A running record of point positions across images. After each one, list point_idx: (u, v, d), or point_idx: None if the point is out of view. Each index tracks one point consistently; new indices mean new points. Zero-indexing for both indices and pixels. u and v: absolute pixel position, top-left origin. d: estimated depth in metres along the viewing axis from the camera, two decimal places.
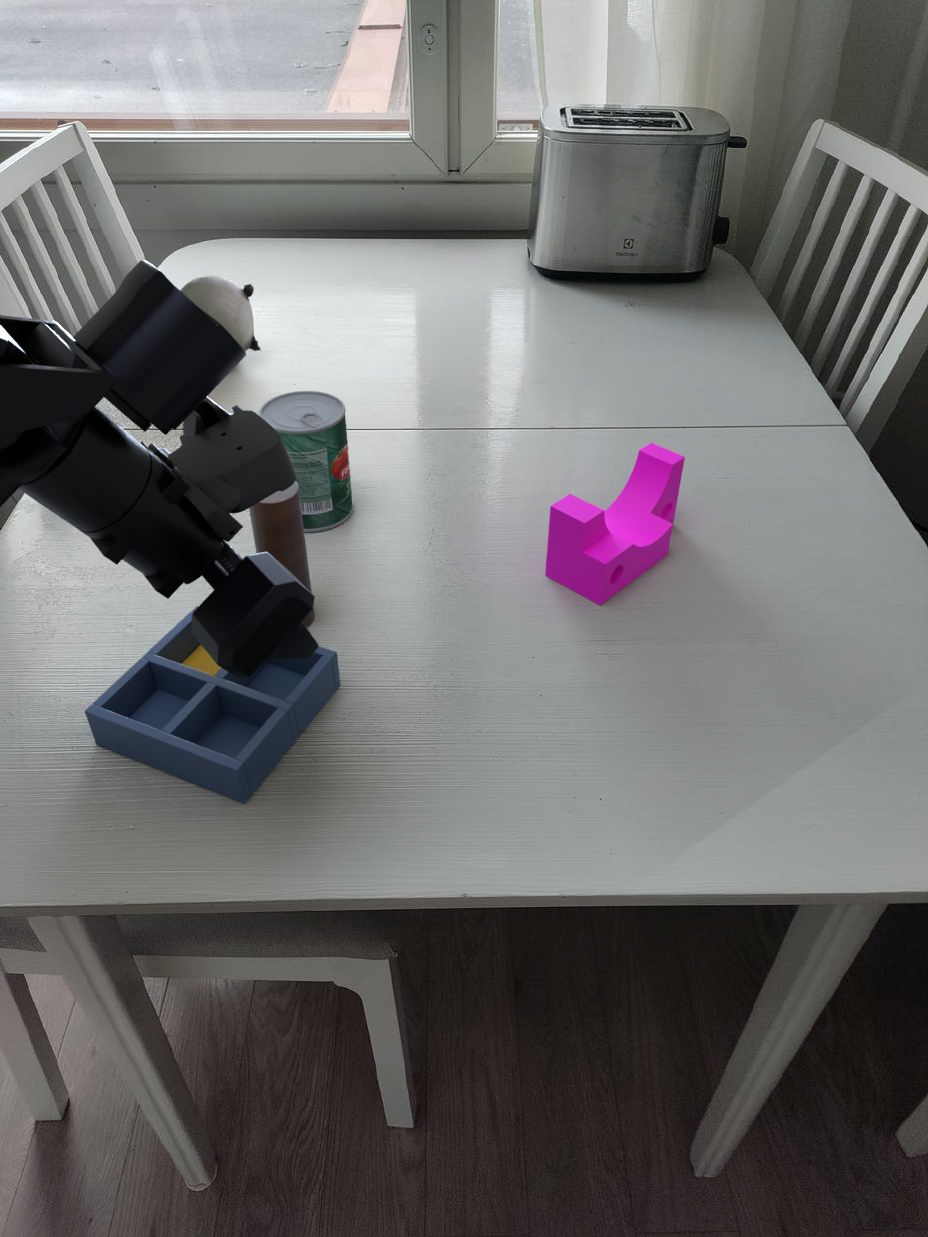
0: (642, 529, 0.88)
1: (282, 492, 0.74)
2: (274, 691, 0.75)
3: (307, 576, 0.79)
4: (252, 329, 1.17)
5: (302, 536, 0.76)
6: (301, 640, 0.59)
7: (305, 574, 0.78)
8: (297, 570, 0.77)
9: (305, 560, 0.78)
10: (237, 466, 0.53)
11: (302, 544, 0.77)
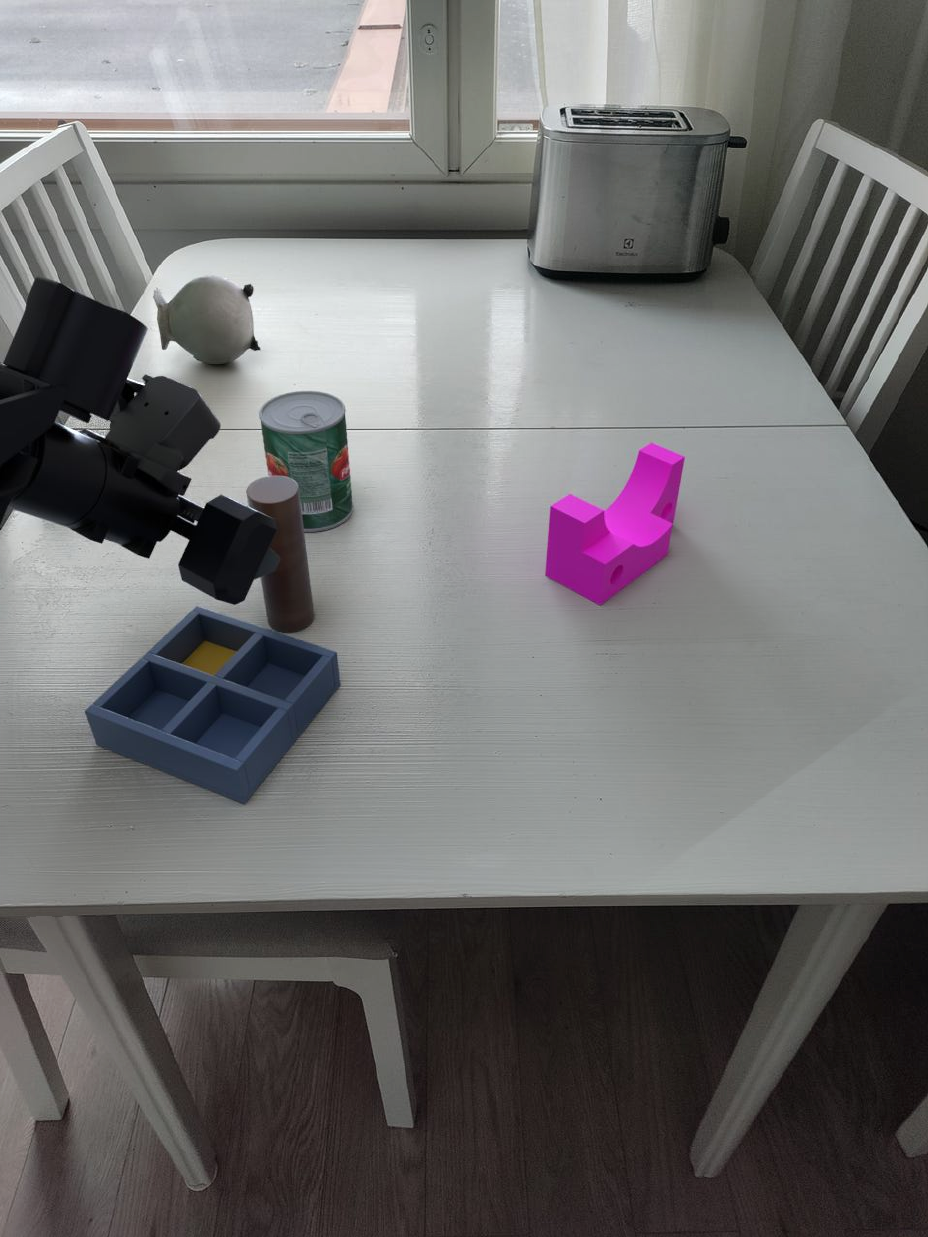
0: (642, 529, 0.88)
1: (282, 492, 0.74)
2: (274, 691, 0.75)
3: (307, 576, 0.79)
4: (252, 329, 1.17)
5: (302, 536, 0.76)
6: (267, 558, 0.68)
7: (305, 574, 0.78)
8: (297, 570, 0.77)
9: (305, 560, 0.78)
10: (172, 429, 0.61)
11: (302, 544, 0.77)
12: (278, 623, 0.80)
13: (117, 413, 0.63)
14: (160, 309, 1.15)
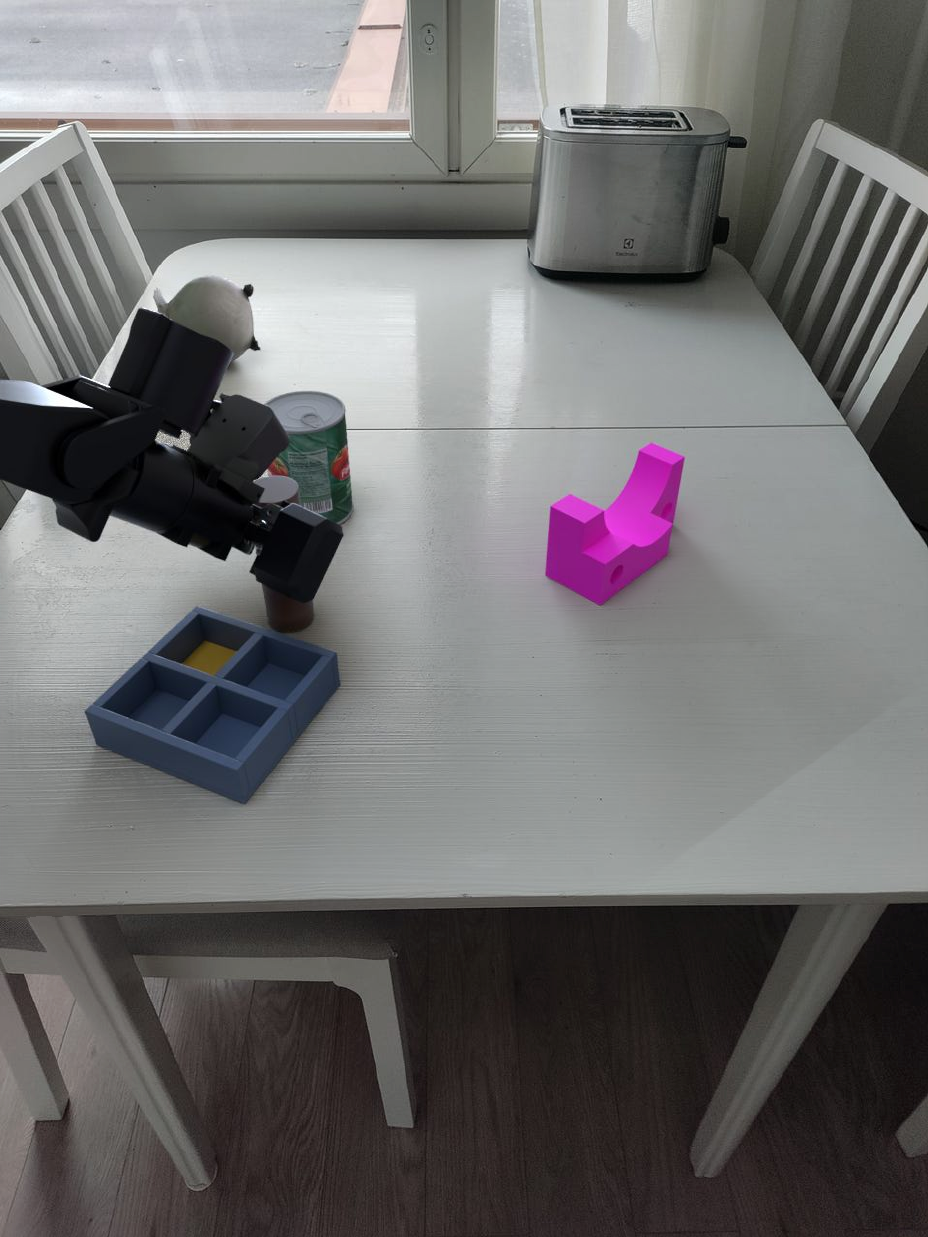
0: (642, 529, 0.88)
1: (282, 492, 0.74)
2: (274, 691, 0.75)
3: None
4: (252, 329, 1.17)
5: None
6: None
7: None
8: None
9: None
10: (250, 444, 0.67)
11: None
12: (278, 623, 0.80)
13: None
14: (160, 309, 1.15)
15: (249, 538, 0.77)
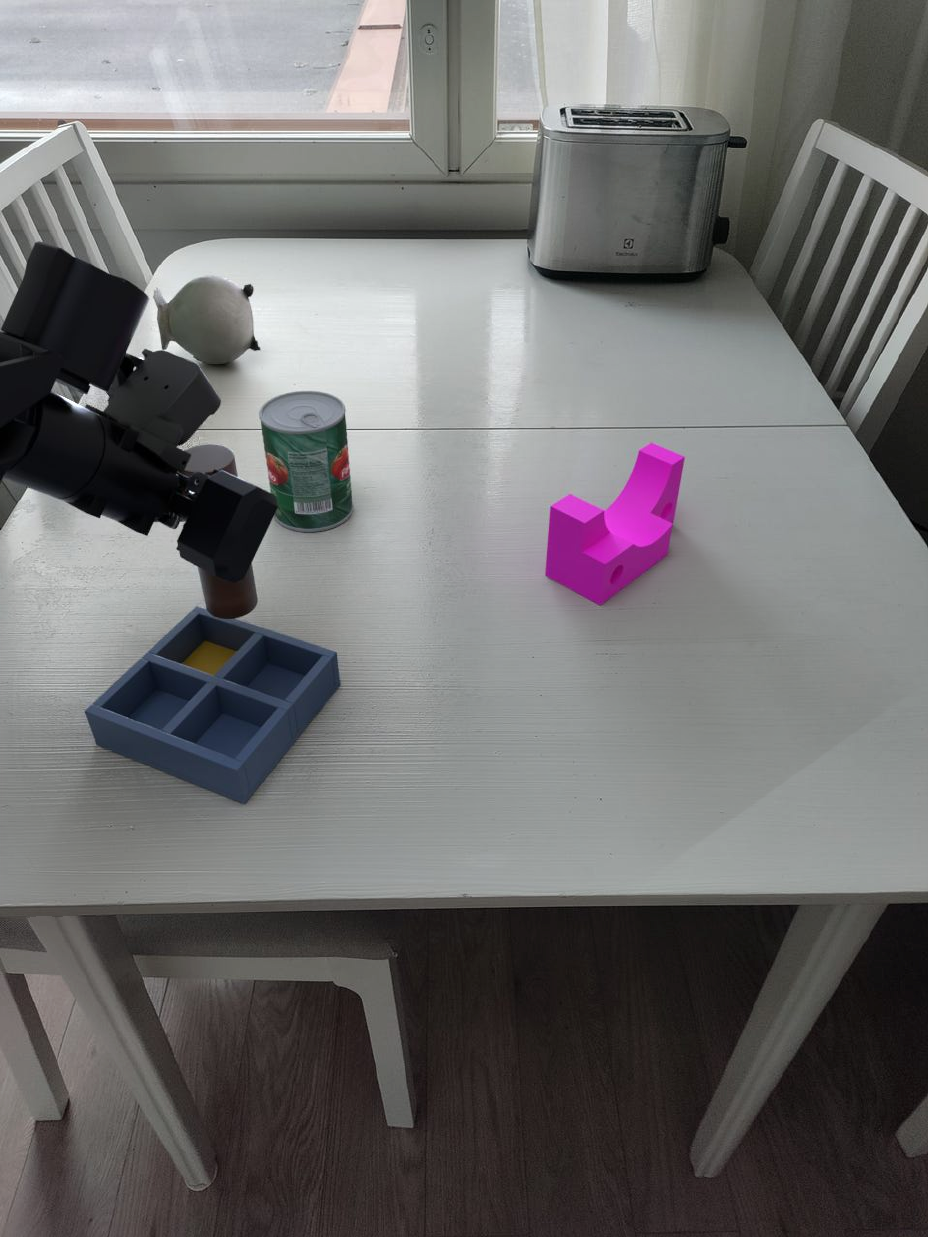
0: (642, 529, 0.88)
1: (215, 461, 0.66)
2: (274, 691, 0.75)
3: None
4: (252, 329, 1.17)
5: None
6: None
7: None
8: None
9: None
10: (172, 403, 0.60)
11: None
12: (216, 608, 0.73)
13: (116, 387, 0.62)
14: (160, 309, 1.15)
15: None
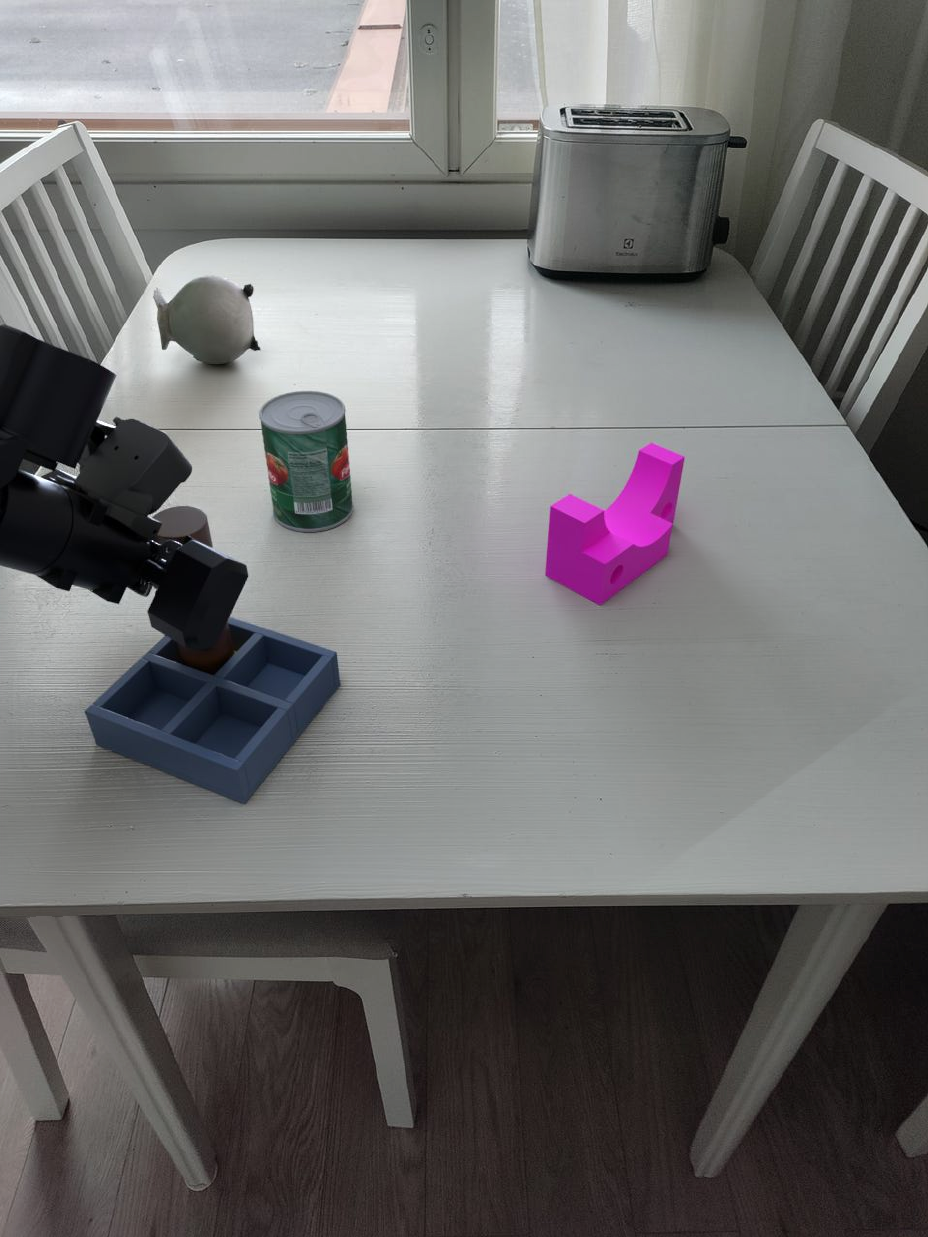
0: (642, 529, 0.88)
1: (188, 525, 0.67)
2: (274, 691, 0.75)
3: None
4: (252, 329, 1.17)
5: None
6: None
7: None
8: None
9: None
10: (141, 475, 0.60)
11: None
12: (192, 665, 0.73)
13: (87, 456, 0.62)
14: (160, 309, 1.15)
15: None
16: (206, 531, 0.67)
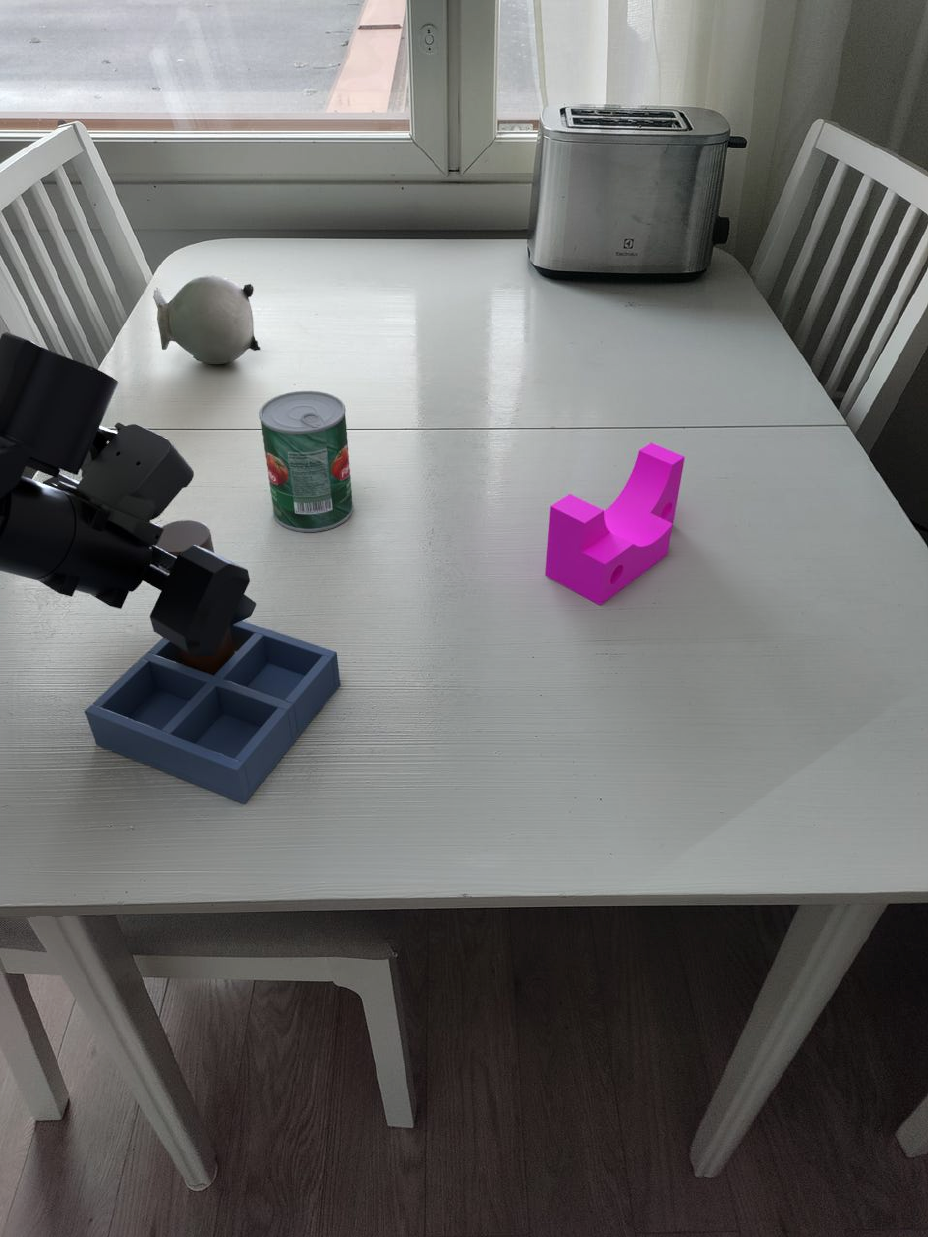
0: (642, 529, 0.88)
1: (191, 539, 0.67)
2: (274, 691, 0.75)
3: None
4: (252, 329, 1.17)
5: None
6: (242, 605, 0.68)
7: None
8: None
9: None
10: (143, 480, 0.60)
11: None
12: None
13: (89, 462, 0.62)
14: (160, 309, 1.15)
15: None
16: (209, 545, 0.68)
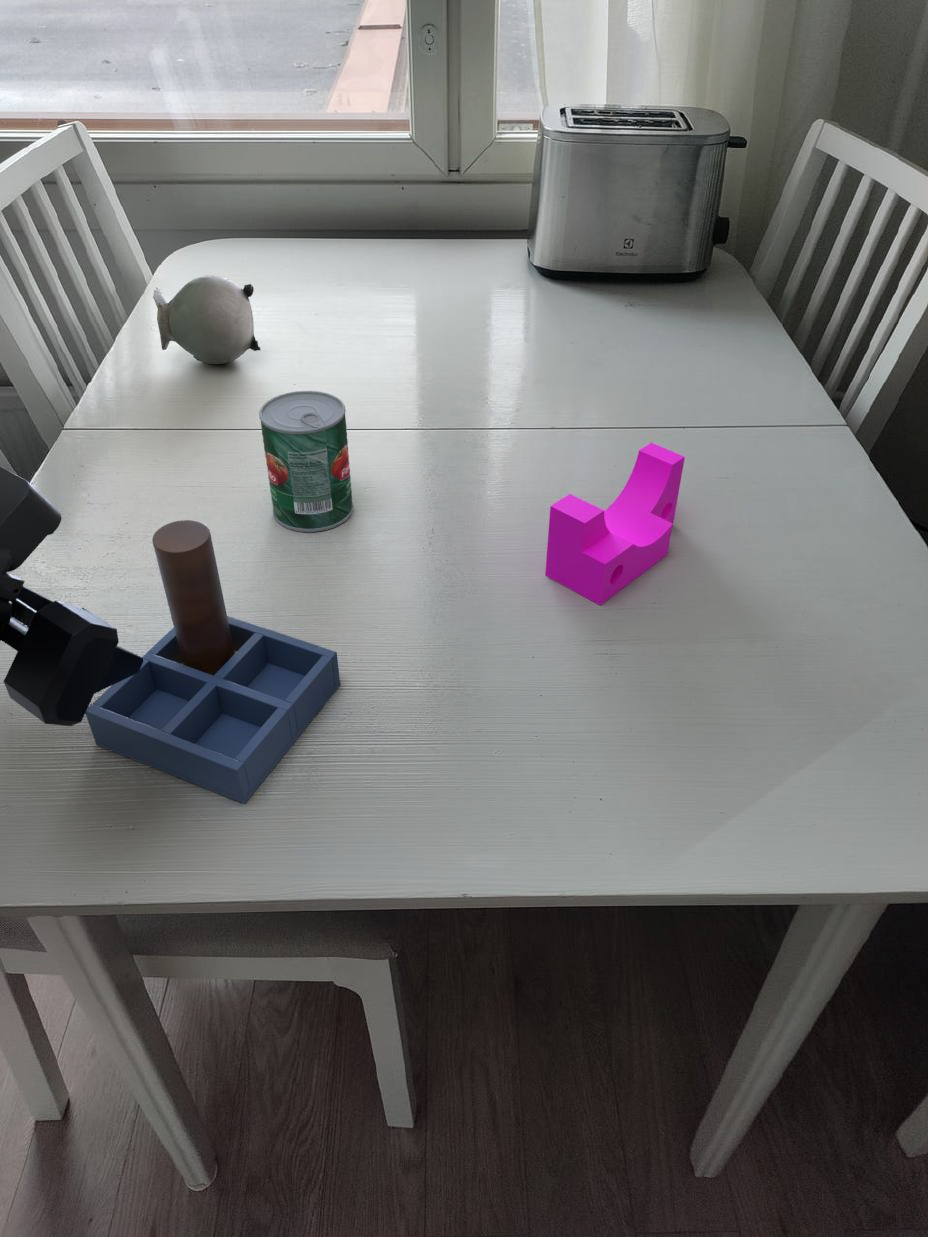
0: (642, 529, 0.88)
1: (191, 539, 0.67)
2: (274, 691, 0.75)
3: (225, 627, 0.73)
4: (252, 329, 1.17)
5: (217, 585, 0.70)
6: (123, 662, 0.61)
7: (222, 625, 0.72)
8: (212, 622, 0.71)
9: (222, 610, 0.72)
10: None
11: (217, 594, 0.70)
12: None
13: None
14: (160, 309, 1.15)
15: None
16: (209, 545, 0.68)
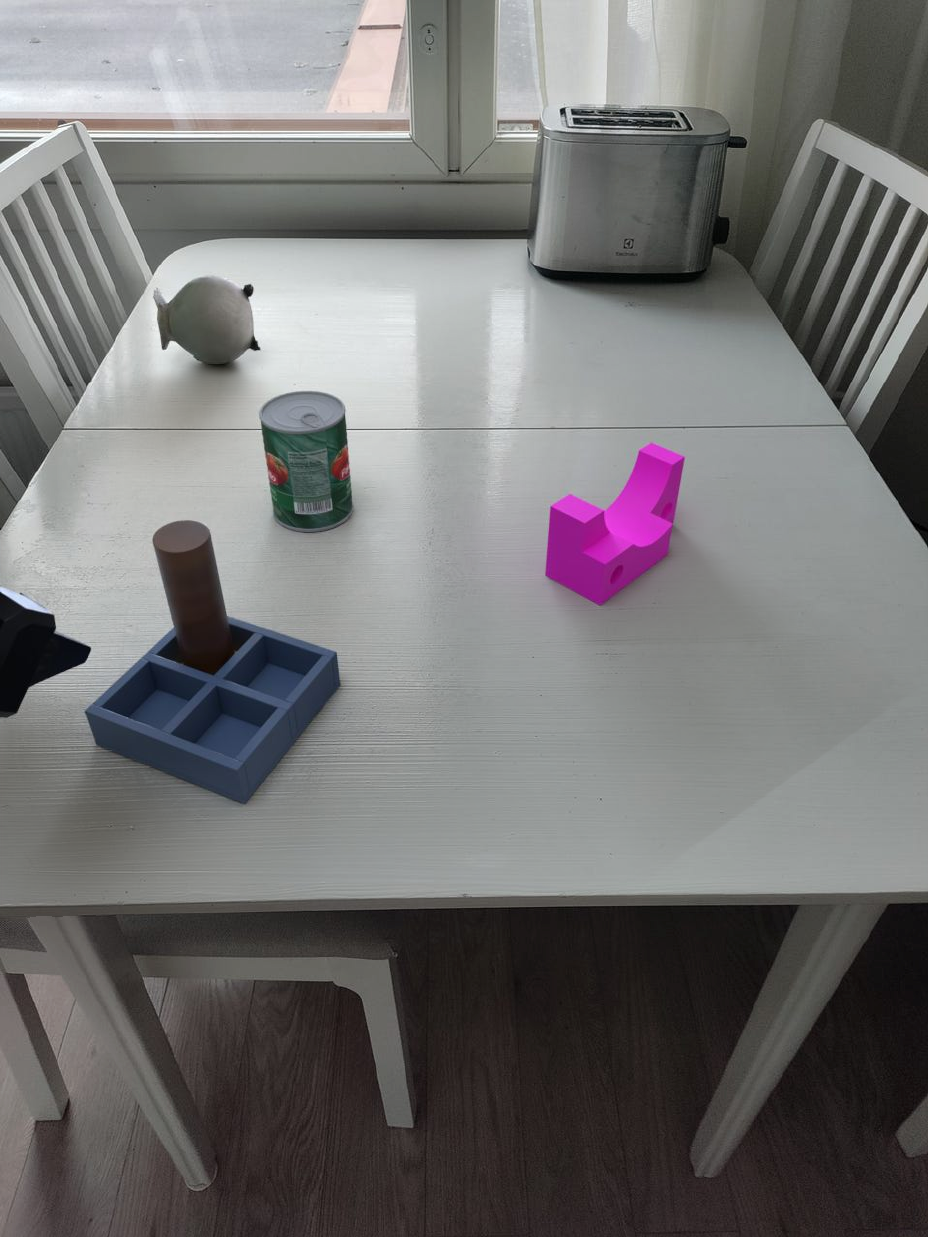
0: (642, 529, 0.88)
1: (191, 539, 0.67)
2: (274, 691, 0.75)
3: (225, 627, 0.73)
4: (252, 329, 1.17)
5: (217, 585, 0.70)
6: (68, 651, 0.58)
7: (222, 625, 0.72)
8: (212, 622, 0.71)
9: (222, 610, 0.72)
10: None
11: (217, 594, 0.70)
12: None
13: None
14: (160, 309, 1.15)
15: None
16: (209, 545, 0.68)
